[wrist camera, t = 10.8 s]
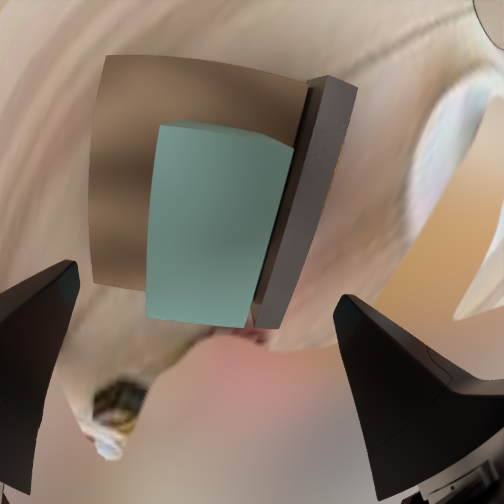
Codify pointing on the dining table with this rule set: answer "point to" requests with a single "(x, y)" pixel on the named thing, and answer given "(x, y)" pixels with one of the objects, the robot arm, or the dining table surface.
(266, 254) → the price rail
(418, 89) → the dining table surface
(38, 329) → the robot arm
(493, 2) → the pill bottle
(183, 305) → the teal carton
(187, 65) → the shelf board
